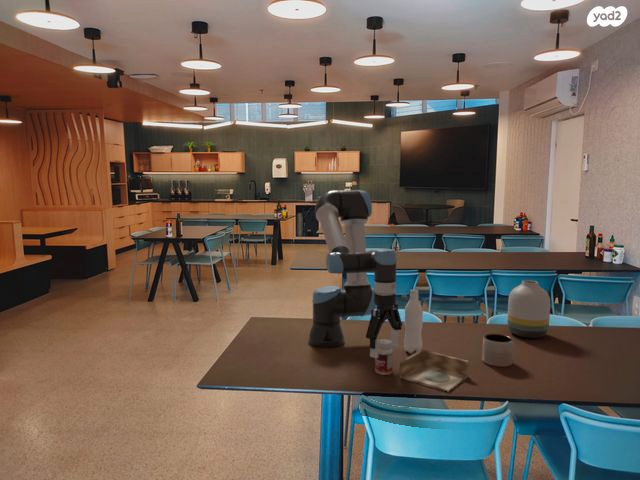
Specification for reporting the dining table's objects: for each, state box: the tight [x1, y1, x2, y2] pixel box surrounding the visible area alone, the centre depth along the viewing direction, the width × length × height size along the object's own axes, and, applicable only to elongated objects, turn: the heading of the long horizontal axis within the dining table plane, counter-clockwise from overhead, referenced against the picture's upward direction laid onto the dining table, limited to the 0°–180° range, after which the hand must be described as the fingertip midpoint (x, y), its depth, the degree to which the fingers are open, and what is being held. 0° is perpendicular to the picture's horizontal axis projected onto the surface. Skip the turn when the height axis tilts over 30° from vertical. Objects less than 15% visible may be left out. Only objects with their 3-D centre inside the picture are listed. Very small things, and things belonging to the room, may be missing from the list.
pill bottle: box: [374, 338, 394, 376], centre depth 168 cm, size 6×6×11 cm
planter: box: [481, 332, 515, 368], centre depth 177 cm, size 11×11×10 cm
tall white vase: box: [403, 289, 424, 354], centre depth 188 cm, size 7×7×25 cm
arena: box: [399, 348, 470, 393], centre depth 164 cm, size 18×16×6 cm
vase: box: [507, 279, 551, 339], centre depth 209 cm, size 17×17×24 cm
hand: (384, 352), depth 168 cm, fingers open, 13 cm apart
